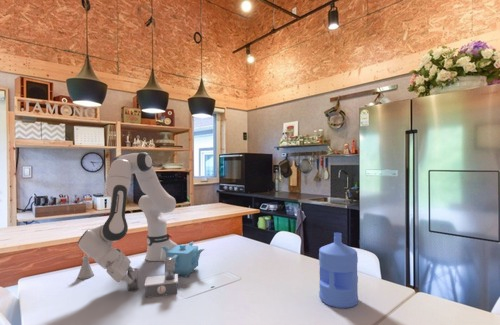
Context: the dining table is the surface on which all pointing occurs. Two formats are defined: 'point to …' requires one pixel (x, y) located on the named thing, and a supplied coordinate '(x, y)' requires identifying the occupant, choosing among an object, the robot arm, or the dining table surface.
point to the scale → (160, 286)
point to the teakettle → (184, 258)
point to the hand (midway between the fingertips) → (133, 278)
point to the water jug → (338, 274)
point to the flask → (85, 269)
